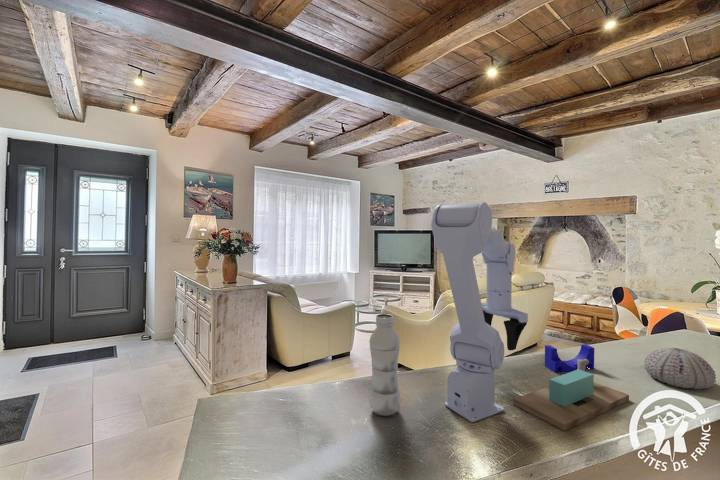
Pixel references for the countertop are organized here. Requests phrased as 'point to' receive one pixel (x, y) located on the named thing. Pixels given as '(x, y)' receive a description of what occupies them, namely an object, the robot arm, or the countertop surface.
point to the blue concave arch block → (571, 365)
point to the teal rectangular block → (571, 387)
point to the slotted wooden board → (571, 413)
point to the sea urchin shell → (680, 368)
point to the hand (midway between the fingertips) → (498, 344)
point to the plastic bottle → (384, 367)
